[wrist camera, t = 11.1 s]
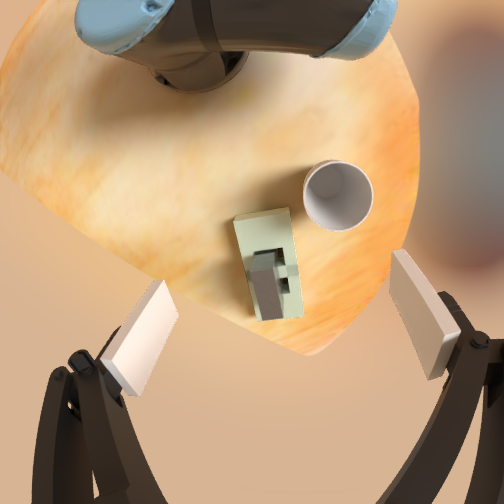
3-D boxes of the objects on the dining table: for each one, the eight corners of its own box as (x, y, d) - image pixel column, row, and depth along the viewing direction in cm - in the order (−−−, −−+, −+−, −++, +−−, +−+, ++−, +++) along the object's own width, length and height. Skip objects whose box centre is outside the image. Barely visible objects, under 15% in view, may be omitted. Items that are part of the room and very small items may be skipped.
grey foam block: (256, 244, 43) (249, 272, 35) (275, 241, 42) (273, 269, 34) (266, 287, 46) (262, 320, 38) (284, 284, 45) (283, 318, 37)
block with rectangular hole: (236, 215, 41) (233, 221, 38) (288, 206, 40) (289, 212, 37) (259, 311, 48) (257, 321, 45) (303, 306, 47) (304, 316, 44)
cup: (325, 218, 40) (337, 245, 31) (286, 181, 38) (287, 197, 29) (363, 182, 37) (386, 198, 28) (325, 142, 35) (339, 145, 26)
